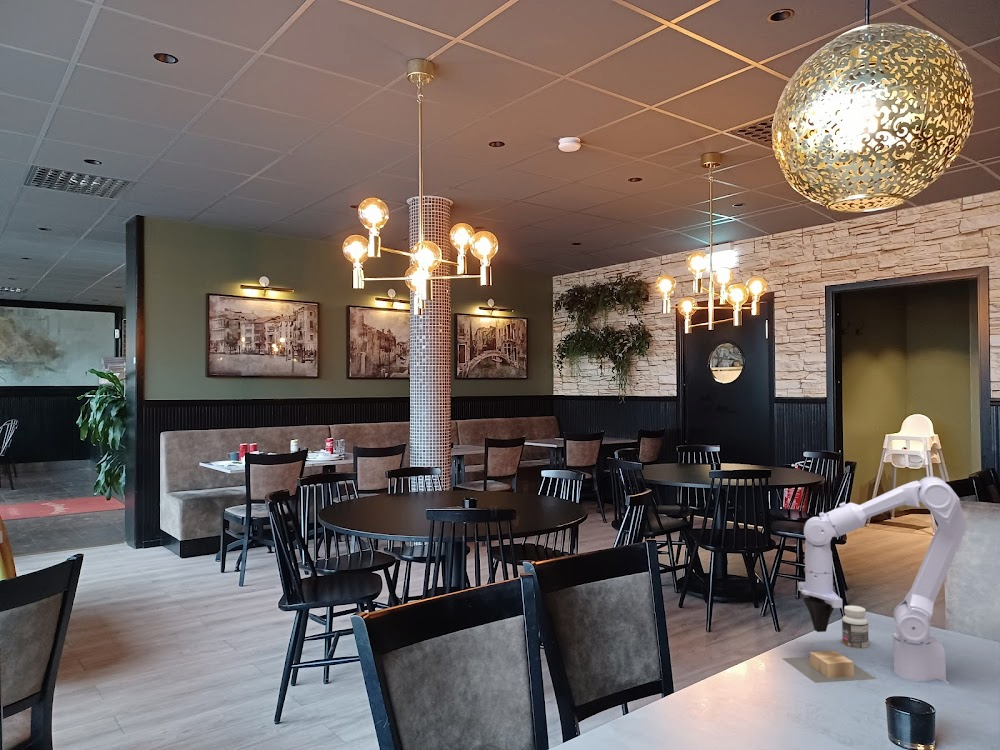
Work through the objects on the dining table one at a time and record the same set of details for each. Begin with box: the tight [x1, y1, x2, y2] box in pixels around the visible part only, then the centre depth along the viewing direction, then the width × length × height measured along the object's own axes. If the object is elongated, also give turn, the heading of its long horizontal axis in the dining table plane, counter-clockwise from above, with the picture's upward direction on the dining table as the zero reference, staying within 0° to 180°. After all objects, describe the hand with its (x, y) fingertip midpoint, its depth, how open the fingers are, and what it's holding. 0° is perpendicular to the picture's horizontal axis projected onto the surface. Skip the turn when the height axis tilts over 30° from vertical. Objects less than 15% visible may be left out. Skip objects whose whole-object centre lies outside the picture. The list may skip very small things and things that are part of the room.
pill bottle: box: [841, 605, 870, 649], centre depth 174 cm, size 6×6×10 cm
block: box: [809, 650, 855, 678], centre depth 157 cm, size 6×3×7 cm
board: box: [781, 656, 878, 684], centre depth 159 cm, size 14×14×1 cm
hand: (820, 630), depth 163 cm, fingers closed
